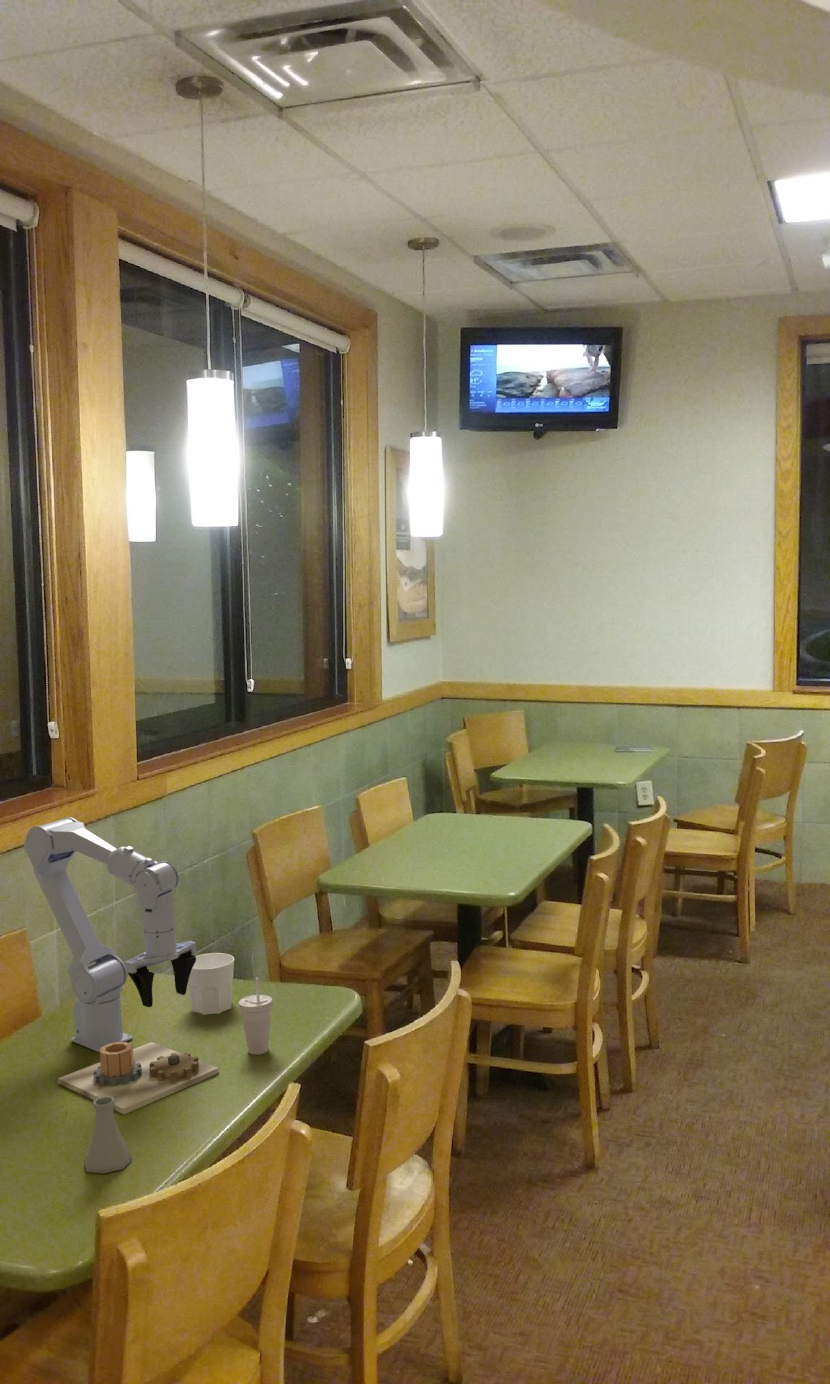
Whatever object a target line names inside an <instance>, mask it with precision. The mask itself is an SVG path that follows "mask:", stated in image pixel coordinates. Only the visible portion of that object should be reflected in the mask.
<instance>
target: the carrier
mask: <svg viewBox="0 0 830 1384" xmlns="http://www.w3.org/2000/svg"><path fill="white" fill-rule="evenodd" d="M133 1059H134V1061H135V1063H136V1064H137V1063H140V1064H141V1067H142V1075H141V1076H138V1079H137V1080H136V1081H130V1082H128V1083H129V1084H125V1085H123V1084H119V1085H116V1086H111V1085H105V1086H101V1085H100V1083H95V1082H94V1070H98V1067H99V1066H101V1064H100V1061H99V1062H97V1063H93V1064H92V1065H89V1066H86V1067H83V1068H82V1069H79V1070H76V1071H74V1072H70V1073H68V1074H65V1075H63V1076H61V1077H58V1079H57V1080H58V1085H61V1086H63V1087H65V1088H68V1089H69V1090H71V1091H74V1092H75V1093H77V1094H79V1095H81V1096H84V1097H86V1098H88V1099H90V1100H92V1101H94V1100H96V1099H97V1098H100V1097H105V1096H109V1097H113V1098H114V1101H115V1102H114V1104H113V1111H116V1112H118V1113H120V1114H121V1115H126V1114H129V1113H131V1112H133V1111H137V1110H138V1109H140V1108H142V1107H145V1106H147V1105H149V1104H152V1103H154V1102H157V1101H158V1100H161V1099H163V1098H166V1097H167V1096H170V1095H172V1094H175V1093H176V1092H180V1091H181V1090H184V1089H185V1088H186V1089H187V1088H189V1087H190V1086H192V1085H193V1086H194V1085H196V1084H197V1083H198V1084H199V1083H200V1082H202V1081H204V1080H206V1079H209V1078H211V1077H213V1076H217V1075H219V1073H220V1072H219V1067H217V1066H214V1065H212V1064H209V1063H206V1062H204V1061H201V1060H199V1057H198V1056H197V1055H195V1056H194V1055H193V1056H191V1053H188V1052H185V1053H184V1054H183V1053H181V1052H179V1051H176V1050H173V1049H171V1048H168V1047H166V1046H164V1045H162V1044H158V1043H155V1042H153V1041H150V1042H148V1043H145V1044H143V1045H139V1046H138V1047H135V1048H133Z"/></svg>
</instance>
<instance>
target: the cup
mask: <svg viewBox="0 0 830 1384" xmlns="http://www.w3.org/2000/svg"><path fill="white" fill-rule="evenodd" d="M195 956H196V962H195V964H194V966H193V968H192V970H191V973H190V976H189V980H188V984H187V986H188V989H189V997H190V1003H191V1004H190V1005H191V1011H192V1013H198V1014H201V1015H203V1016H205V1015H212V1014H213V1015H214V1014H216V1015H217V1014H218V1015H219V1014H221V1013H222V1012H225V1011H227V1010H231V1009H232V1005H233V1004H232V1003H233V979H234V968H235V967H234V966H235V957H234V956H233V955H231V954H229V953H223V952H210V953H203V954H198V955H195Z"/></svg>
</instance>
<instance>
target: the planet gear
mask: <svg viewBox="0 0 830 1384" xmlns="http://www.w3.org/2000/svg"><path fill="white" fill-rule="evenodd" d="M133 1046H134V1045H133V1044H132V1043H130V1042H128V1041H126V1042H114V1043H110V1044H107V1045H105V1046H103V1047H102V1048H101V1049H100V1051H99V1060H100V1061H99V1062H100V1064H101V1066H99V1067H98V1070H94V1082H95V1083H100V1085H101V1086H105V1085H111V1086H116V1085H119V1084H123V1085H125V1084H129V1083H128V1082H130V1081H136V1080H137V1079H138V1076H141V1075H142V1067H141V1064H140V1063H137V1064H136V1063H135V1061H134V1059H133V1049H134V1048H133Z"/></svg>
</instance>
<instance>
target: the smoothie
mask: <svg viewBox="0 0 830 1384" xmlns="http://www.w3.org/2000/svg"><path fill="white" fill-rule="evenodd" d="M259 980H260V979H259V977H255V992H256V993H255V994H252V995H247V996H244V997H243V998H241V999H239V1000H238V1010H240V1013H241V1019H242V1024H243V1029H244V1030H243V1031H244V1034H245V1040H246V1047H247V1051H248V1053H249V1054H251V1055H258V1056H259V1055H262V1054H263V1055H264V1054H266V1053H267V1052H268V1051H269V1046H270V1045H269V1044H270V1033H271V1032H270V1030H271V1015H272V1014H271V1013H272V1007H273V1005H274V1003H273V998H272V996H269V995H267V994H260V984H259Z"/></svg>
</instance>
